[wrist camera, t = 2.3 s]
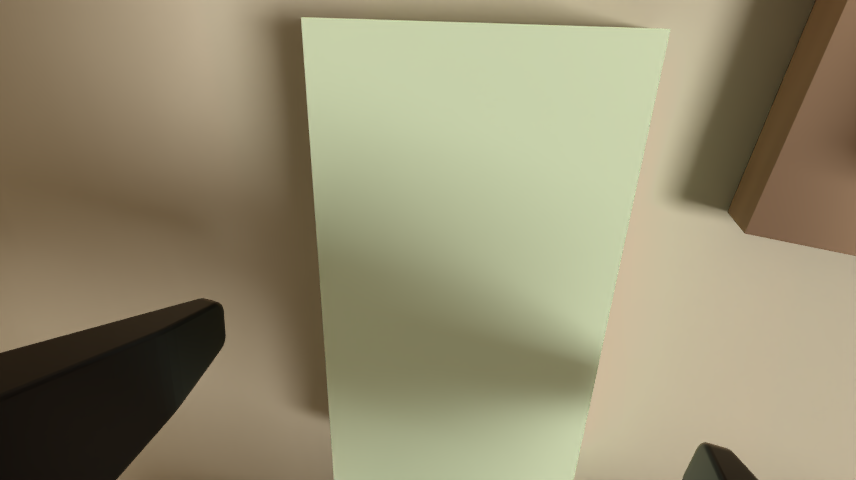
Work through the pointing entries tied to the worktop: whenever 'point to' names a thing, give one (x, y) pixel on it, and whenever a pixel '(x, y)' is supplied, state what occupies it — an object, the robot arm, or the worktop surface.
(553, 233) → the pale green board
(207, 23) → the worktop surface
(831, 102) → the walnut plate
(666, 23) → the worktop surface
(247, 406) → the worktop surface
